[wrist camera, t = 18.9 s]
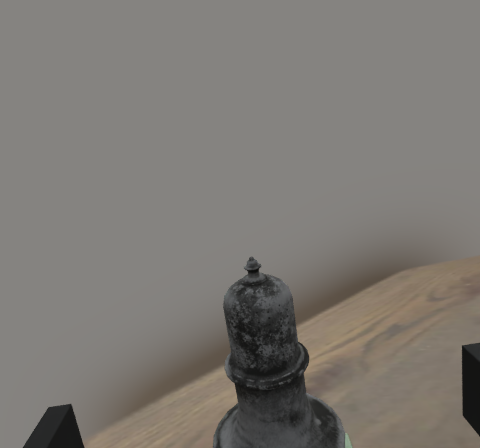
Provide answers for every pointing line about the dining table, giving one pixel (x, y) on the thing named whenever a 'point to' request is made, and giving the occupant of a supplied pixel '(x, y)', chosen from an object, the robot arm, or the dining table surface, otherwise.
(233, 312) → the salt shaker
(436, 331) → the dining table surface
